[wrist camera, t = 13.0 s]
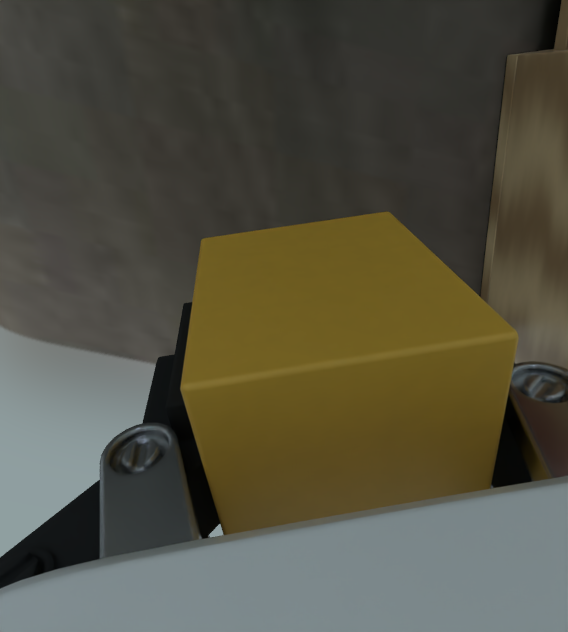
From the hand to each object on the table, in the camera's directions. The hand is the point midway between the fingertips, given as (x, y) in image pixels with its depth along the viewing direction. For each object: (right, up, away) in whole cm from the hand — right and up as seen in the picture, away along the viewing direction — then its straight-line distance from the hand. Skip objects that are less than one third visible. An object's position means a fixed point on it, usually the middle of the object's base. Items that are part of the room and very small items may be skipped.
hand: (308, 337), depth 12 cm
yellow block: (0, 0, 0) cm, 0 cm away
